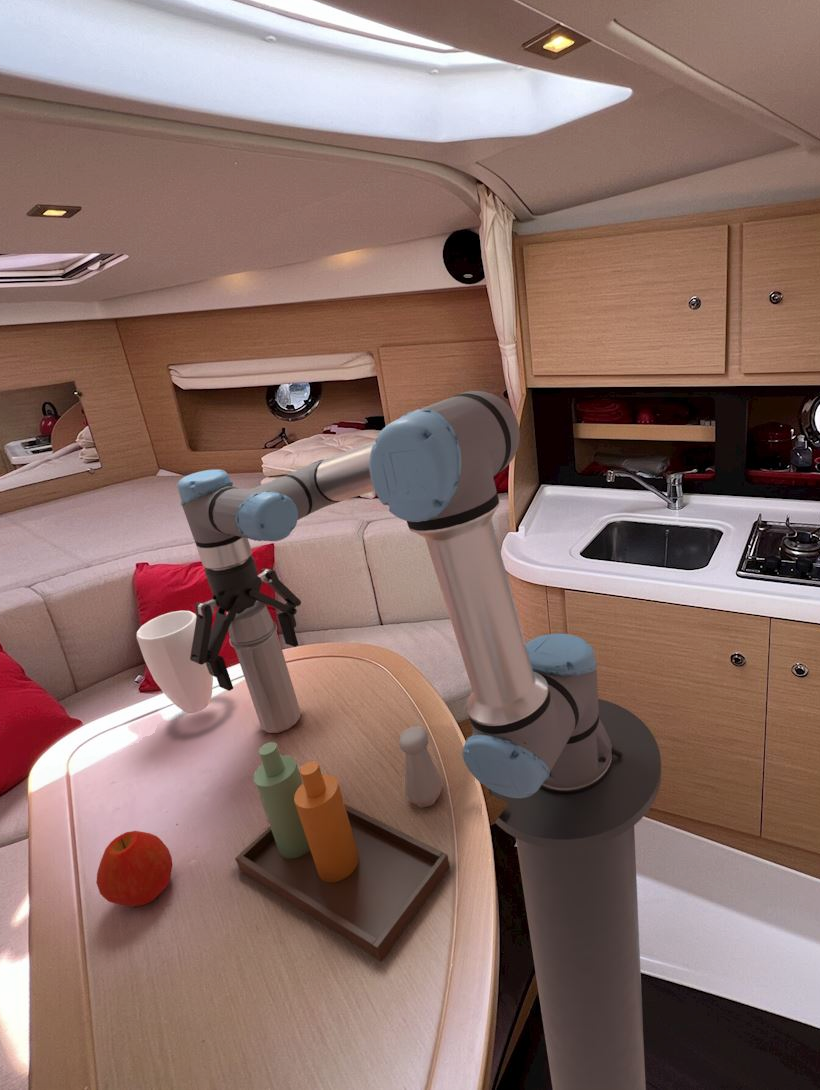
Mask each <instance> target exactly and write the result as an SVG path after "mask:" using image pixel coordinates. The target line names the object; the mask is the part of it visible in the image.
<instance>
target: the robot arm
mask: <svg viewBox="0 0 820 1090" xmlns="http://www.w3.org/2000/svg"><path fill="white" fill-rule="evenodd" d="M520 434H521V432H520V424H519V421H518V419H517V416H516V415H515V413H514V411H513V410H512V408H511V407H510V405H508V404H507V402H505V401H504V400H503V399H502V398H500V397H498V396H497V395H494V394H493V393H490V392H487V391H482V390H470V391H465V392H461V393H458V394H455V395H452V396H451V397H448V398H446V399H443V400H440V401H438V402H435V403H432V404H429V405H427V406H424V407H421V408H419V409H418V408H417V409H415V410H412V411H408V412H406V413H405V414H403V415H401V416H400V417H399V418H397V419H395V420H394V421H392V422H391V421H390V423H389V424H387V425H385V427H383V428H382V429H381V430H380V431H379V433H378V434H377V436H376V439H375V440H372V441H371V442H368V443H365V444H363V445H360V446H358V447H355V448H352V449H349V450H346V451H343V452H341V453H338V454H336V455H333V456H330V457H326V458H323V459H319V460H317V461H315V462H311V463H310V464H308V465H306V466H304V467H301V468H298V469H297V470H295V471H292V472H290V473H287V474H285V475H283V476H280V477H277V478H275V479H273V480H270V481H268V482H265V483H262V484H261V485H258V486H256V487H253V488H241V487H235V486H234V485H233V483H234V482H233V481H232V479H231V477H230V475H229V473H227V471H226V470H224V469H206V470H205V469H204V470H201V471H196V472H193V473H191V474H190V473H189V474H188V475H186V476H185V475H184V477H182V478H181V479H180V480H179V481H178V483H177V490H178V494H179V499H180V506H181V507H182V510H183V512H184V515H185V518H186V521H187V523H188V524H187V525H188V527H189V529H190V532H191V534H192V538H193V541H194V542H195V546H196V547H195V548H196V549H197V552H198V555H199V558H200V561H201V565H202V566H203V568H204V569H203V570H204V574H205V577H206V581H207V583H208V586H209V589H210V590H211V593H212V598H211V599H210V600H207V601H205V602H201V601H198V602H196V603H195V605H194V609H195V614H196V616H197V619H196V625H195V631H194V637H193V643H192V650H191V656H190V660H191V661H193V662H196V663H198V664H200V665H202V664H204V663H206V665H207V668H208V671H209V674H211V675H212V676H213V678H214V677H215V678H216V680H217V683H218V686H219V688H221V689H223V690H225V691H228V692H230V691H232V690H233V689H234V686H233V682H232V680H231V677H230V674H229V671H228V668H227V666H226V662H225V660H224V657H223V656H221V655H219V654H220V652H221V649H222V647H223V644H224V642H225V639H226V636H227V634H228V632H229V631H228V629H229V626H230V623H231V622H232V621H233V620H234V618H235V616H236V614H240V613H242V612H243V611H244V610H245V609H247V608H250V607H252V606H254V605H255V602H256V601H260V602H263V603H265V604H266V606H269V607H271V608H273V609H275V610H276V611H277V610H278V611H279V613H277V619H278V622H279V626H280V629H281V632H282V636H283V639H284V640H283V641H284V642H285V645H287V646H288V645H289V646H290V647H294V648H296V647H297V646H299V643H298V638H297V635H296V630H295V628H296V627H297V621H296V617H295V615H296V614H297V612H298V610H297V607H300V606H301V604H302V601H301V599H300V598H298V597H297V596H296V595H295V593H293V592H292V591H291V590H290V589H289V588H288V587H287V586H286V585H285V584H284V583H283V581H281V580H280V579H279V576H278V575H277V573H276V572H277V571H276V570H274V569H269V568H265V567H263V568H262V569H261V570H260V573H259V571H258V568H257V565H256V563H255V557H254V556H253V555H252V554H253V551H252V547H251V544H250V541H249V540H251V541H254V542H255V541H258V542H261V541H262V542H279V541H282V540H284V539H286V538H288V537H289V536H290V535H291V533H292V531H293V530H294V529H295V528H296V526H297V523H298V521H299V520H301V519H303V518H306V517H307V516H309V515H310V514H313V513H315V512H316V511H319V510H321V509H323V508H326V507H329V506H331V505H335V504H338V503H340V502H344V501H346V500H349V499H353V498H356V497H359V496H363V495H366V494H369V493H373V492H375V494H376V496H377V499H379V501H380V502H381V504H382V505H383V506H388V507H389V509H388V512H390V514H392V515H393V516H395V517H397V518H398V519H400V520H403V521H406V524H407V527H408V529H409V531H411V532H413V533H415V534H417V535H419V536H421V537H422V538H424V539H425V542H426V546H427V548H428V552H429V555H430V558H431V559H430V560H431V562H432V565H433V568H434V571H435V575H436V577H437V581H438V584H439V587H440V590H441V593H442V597H443V601H444V603H445V606H446V611H447V613H448V616H449V619H450V623H451V626H452V629H453V633H454V635H455V639H456V642H457V645H458V648H459V651H460V655H461V658H462V661H463V664H464V668H465V671H466V675H467V677H468V680H469V683H470V687H471V689H472V692H471V694H470V695H469V697H468V698H467V700H466V701H467V702H466V712H467V715H468V718H469V723H470V725H471V728H472V734H471V735H470V736H469V737H467V738H466V740H465V743H464V745H463V747H462V752H461V753H462V759H463V762H464V765H465V766H466V768H467V771H468V772H470V774H471V775H472V776H473V777H474V778H475V779H476V780H477V781H478V782H479V783H480V784H482V785H483V786H484V787H486V788H487V789H488V790H489V789H490V790H492V791H494V792H496V793H498V794H500V795H503V796H507V797H511V798H526V797H529V796H531V795H533V794H534V793H536V792H537V791H538V789H539V788H542V789H544V790H546V791H549V792H552V793H557V794H574V793H579V792H583V791H586V790H588V789H590V788H592V787H594V786H595V785H597V784H598V783H600V782H601V781H602V780H603V779H604V778H605V777H606V775H607V774H608V772H609V770H610V768H611V765H612V760H613V754H614V755H616V756H618V757H619V758H621V757H622V753H621V752H619V751H617V750H616V749H614V748H612V746H611V742H610V739H609V736H608V734H607V732H606V730H605V728H604V726H603V724H602V722H601V720H600V718H599V706H598V699H599V691H598V690H599V689H598V688H599V687H598V673H597V669H598V663H597V661H596V656H595V650H594V648H593V647H592V646H591V645H590V643H589V642H588V641H586V639H584V638H581V637H580V636H577V635H573V634H570V633H569V634H568V633H550V634H549V633H548V634H543V635H540V636H537V637H534V638H532V639H531V640H528V642H527V643H526V641H525V640H526V639H525V637H524V634H523V633H524V632H523V630H522V626H521V622H520V619H519V616H518V611H517V608H516V604H515V599H514V596H513V592H512V589H511V585H510V581H509V578H508V574H507V571H506V567H505V563H504V560H503V556H502V553H501V549H500V544H499V541H498V538H497V533H496V530H495V527H494V523H493V516H495V515H494V514H495V513H496V511H497V510H498V508H499V506H500V500H499V495H498V491H497V487H496V483H495V480H494V479H495V478H494V477H495V476H497V475H499V474H500V473H502V471H503V470H505V469H506V468H507V467H508V466H509V465H510V464H511V462H512V461H513V459H514V458H515V456H516V454H517V452H518V448H519V445H520V438H521V435H520ZM263 583H265V584H266V585H267V586H269V587H270V588H271V589H272V590H273V591H274V592H275V593H276V594H277V595H278V596H279V597H280V598H282V600H284V601H285V603H284V602H281V601H279V600H277V599H274V598H272V597H270V596H268V595H267V594H264V593H262V592H261V588H262V584H263ZM216 607H217V609H216V612H215V608H216ZM227 612H228V614H227V615H226V613H227ZM213 615H214V616H215V619H214V618H213ZM213 619H214V622H213Z"/></svg>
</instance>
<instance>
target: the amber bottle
mask: <svg viewBox="0 0 820 1090" xmlns="http://www.w3.org/2000/svg"><path fill="white" fill-rule="evenodd" d="M299 772H300V775H301V778H302V782H303V784H301V785H300V787H299V788H298V789H297V791H296V793H295V796H294V802H295V805H296V808H297V811H298V814H299V817H300V820H301V823H302V826H303V829H304V832H305V835H306V838H307V841H308V844H309V847H310V850H311V853H312V856H313V859H314V862H315V865H316V868H317V872H318V875H319V877H320V878H321V879H322V880H323V881H325V882H329V883H332V882H338V881H340V880H343V879H344V878H346V877H348V876H349V875H350V874H351V873H352V872H353V871H354V869H355V868H356V866H357V864H358V861H359V853H358V850H357V847H356V843H355V840H354V836H353V833H352V829H351V826H350V822H349V819H348V815H347V812H346V808H345V805H344V804H345V801H344V798H343V795H342V791H341V787H340V784H339V781H338V779H337V777H335V776H334V775H331V774H328V773H322V771H321V767H320V764H319V762H317V760H311V761H307V762H306V763H304V764H303V765H302V766H301V767H300V769H299Z"/></svg>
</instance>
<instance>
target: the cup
mask: <svg viewBox="0 0 820 1090" xmlns="http://www.w3.org/2000/svg"><path fill="white" fill-rule="evenodd" d="M196 619H197V615H196V613H194V612H192V611H190V610H176V611H170V612H167V613H164V614H161V615H158V616H156V617H154V618H152V619H150V620H148V621H147V622H145V623H144V624H142V625H141V626H140V627H139V628H138V630H137V631H136V641H137V643H138V646H139V648H140V652H141V655H142V657H143V660H144V662H145V664H146V666H147V669H148V671H149V673H150V675H151V676H152V679H153V680H154V682H155V683H156V685H157V686H158V687H159V689H160V690H161V692H163V694H164V695H165V696H166V698H167V699H168V700H170V701H171V702H172V703H173V704H174V705H175V706H176V707H177V708H179V709H180V710H182V711H183V712H184V713H186V714H196V713H198V712H201V711H203V710H204V709H206V708H207V707H208V706H210V703H211V700H212V695H213V685H214V684H213V683H214V676H212V675H211V674H209V671H208V668H207V665H206V663H204V664H202V665H200V664H198V663H196V662H193V661H191V660H190V656H191V650H192V643H193V637H194V631H195V625H196Z"/></svg>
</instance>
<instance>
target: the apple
mask: <svg viewBox="0 0 820 1090" xmlns="http://www.w3.org/2000/svg"><path fill="white" fill-rule="evenodd" d="M172 869H173V859H172V854H171V851H170V850H169V848H168V846H166V844H165V843H164V842H163V840H162V839H161V838H160V837H158V836H157V835H155V834H153V833H149V832H145V831H138V830H132V831H126V832H124V833H122V834H120V835H118V836H117V837H115V838H114V839H112V840H111V841H110V842H109V844H108V845H107V846H106V848H105V849H104V852H103V854H102V857H101V859H100V861H99V865H98V869H97V874H96V881H95V882H96V886H97V889H98V892H99V894H100V896H102V897H103V898H104V899H105V900H106V901H107V902H109V903H112V904H116V905H118V906H119V905H120V906H125V907H138V906H139V907H140V906H143V905H147V904H148V903H151V902H152V901H154V900H155V899H156V898H157V897H159V896H160V895H161V894H162V893H163V891H164V890H165V889H166V888H167V887H168V885H169V883H170V881H171V876H172V871H173V870H172Z"/></svg>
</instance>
